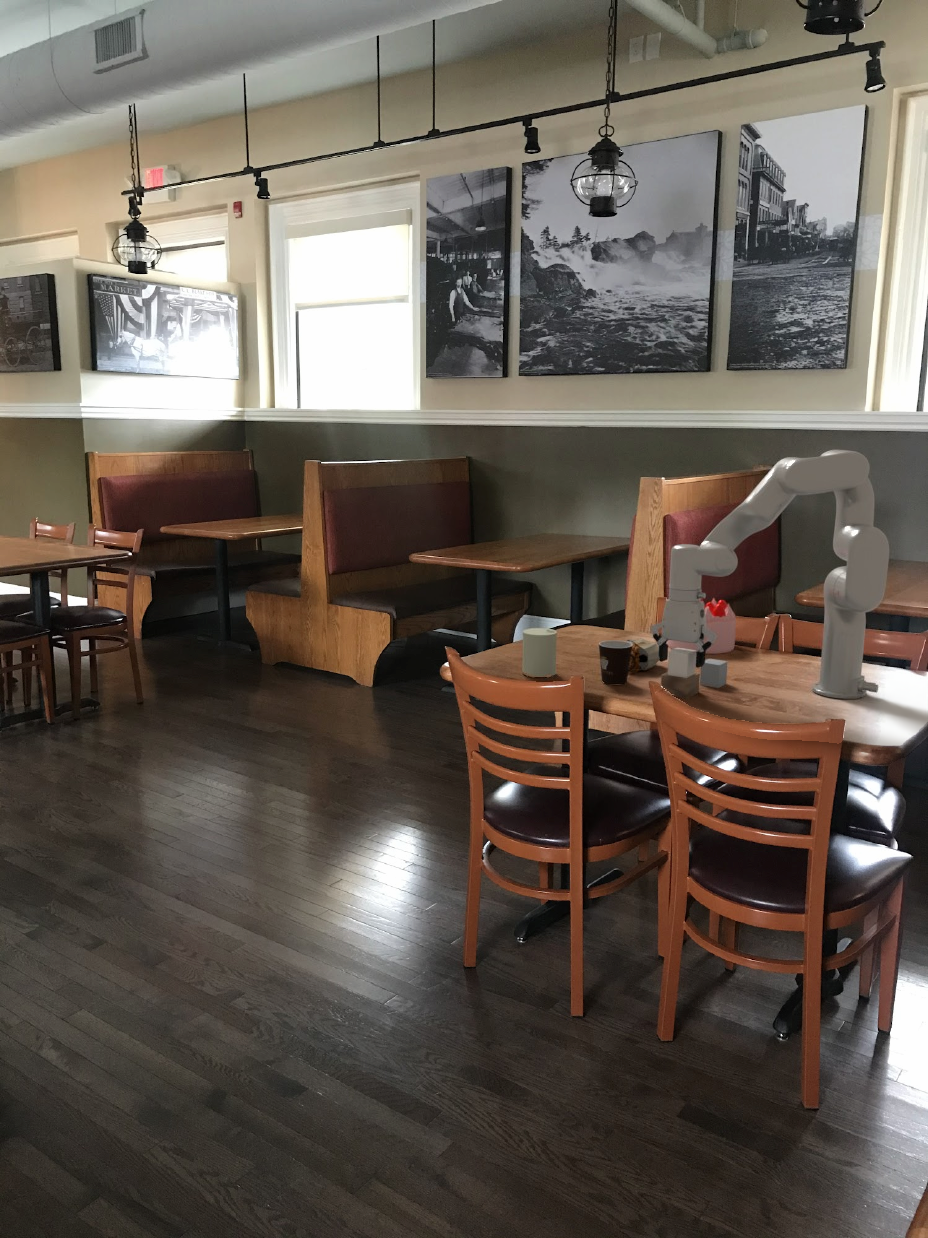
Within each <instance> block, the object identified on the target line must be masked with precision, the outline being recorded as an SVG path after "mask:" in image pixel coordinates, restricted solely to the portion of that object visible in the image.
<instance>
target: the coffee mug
mask: <svg viewBox="0 0 928 1238" xmlns="http://www.w3.org/2000/svg"><path fill="white" fill-rule="evenodd" d="M625 641H626V640H602V641H600V642H598V650H599V652H598V653H599V663H600V673H601V674H600V675H601V682H602V681H603V682H604V683H603V682H602V683H603V684H605V683H608V684H607V685H609V684H623V685H626V684H627V683H628V677H629V674H628V673H631V672H632V671H633V670H632V669H633V668H634V667H635V665H636V659H635V657H634V655H633V654H631V652H632V646H633V644H631V643H629V642H625ZM631 657H632V658H633V666H632V667H631V668H630V667H629V665H630V659H631ZM631 670H632V671H631ZM630 671H631V672H630ZM625 683H626V684H625Z"/></svg>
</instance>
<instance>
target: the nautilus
mask: <svg viewBox="0 0 928 1238" xmlns="http://www.w3.org/2000/svg"><path fill="white" fill-rule="evenodd" d="M624 641H625V642H629V643H631V644H633V646H632V652H631V654H633V655H634V657H635V659H636V665H635V667H634V668H633V669H632V670H631V671H630V672H628V675H630V674H633V673H634V674H633V675H635V673H637V672H638V671H646V670H648V669H651V668H652V667H654V666H656V664H657V663H658V662H660V661H659V660H660V657H659V645H657V642H655V641H651V640H650V641H649V640H647V639H644V638H630V639H626V640H624ZM632 666H633V658H632V657H631V659H630V665H629V669H630V668H631V667H632Z"/></svg>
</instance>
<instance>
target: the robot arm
mask: <svg viewBox="0 0 928 1238" xmlns="http://www.w3.org/2000/svg"><path fill="white" fill-rule="evenodd" d="M870 468H871V466H870V462H869V461H868V459H867V457H866V456H865V455H864V454H863V453H860V452H858V451H855V450H854V451H853V450H848V449H847V450H846V449H831V450H828V451H827V450H826V451H825V452H823V453H822V454H820V456H814V457H794V456H791V457H785V458H782V459H780V460H779V461H777V462H776V464H774V465H773V466H772V468H771V469H770V470H769V471H768V473H767V474H766V475H765V476H764V477H763V478H762V479H761V481H760V482H759V483H758V484H757V485H756V486H755V487H754V488H753V490H752V491H751V492H750V494H749V495H748V496H747V497H746V498H745V499H744V501H742V502H741V503H740V504H739V505H738V506H737V507H736V508H734V509H733V510H732V511H731V512H730V513H728V514H727V516H726V517H724V518H723V519H722V520H721V521H720V522H719V523H718V524H717V525H716V526H715V527H713V529H712V530H711V532H710V533H709V534H707V536H706V537H705V538H704V540H703V541H702V542H701V544H700V545H696V544H691V543H688V544H687V543H682V544H676V545H674V546H672V547H671V550H670V564H669V565H670V567H669V587H668V588H669V589H668V599H666V601H665V605H664V609H663V612H662V613H663V614H662V620H661V621H660V622H657V623H656V624H653V625H650V627H649V630H650V632H651V634H652V638H653V639H654V641H655V643H656V644H657V645H658V646H659V657H660V660H659V661H658V662H664V661H667V660H668V659H669V646H668V644H667V641H668V640H674V641H680V642H687V643H694V644H695V646H696V647H697V649H698V652H696V665H695V669H696V668H698V669H699V668H701V667H702V666H703V665H704V663H705V660H706V655H707V654H706V650H707V649H708V648H709V647H711V646H712V645H713V643H714V641H715V640H716V638H717V635H716V634H715V633H713V632H712V631H711V630H709V629H708V628H706V617H705V608H704V604H705V602H702V601H700V600H701V599H706V596H707V595H706V592H702V576H708V577H709V576H711V577H719V578H720V577H721V578H722V577H726V576H727V577H728V576H729V575H731V574H732V573H734V572H735V570H736V569H737V567H738V557H737V553H736V552H735V549H736V548H737V547H738V546H739V545H740V544H741V543H742V542H743V541H745V540H746V539H747V538H748V537H750V536H751V535H753V534H755V533H758V532H760V531H763V530H765V529H766V528H768V527H769V526H771V525H772V524H773V523H774V522H775V520H776V519H777V518H778V517H779V516H780V515H781V513H783V511H784V510H785V509H786V508H787V507H788V505H789V504H790V503H791V502H792V501H793V500H794V498H795V497H796V496H809V495H817V494H825V493H830V492H833V493H834V497H835V502H836V507H835V508H836V510H835V511H836V513H835V521H834V522H835V523H834V532H833V540H832V548H833V551H834V553H835V555H836V556H837V557H839V558H840V559H841V560H843V561H845V562H846V565H845V566H838V567H836V568H833V570H831V571H830V572H829V573H828V574H827V576H826V578H825V580H824V584H823V600H824V604H823V605H824V620H823V634H822V643H821V644H822V647H821V658H820V660H821V661H820V670H819V681H818V682H815V683H814V684H813V685H812V689H811V690H812V691H813V693H816V694H817V695H820V696H824V697H828V698H835V699H845V700H853V699H854V700H856V699H861V698H860V697H862V698H865V697H866V696H867V692H871V693H878V691H879V684H876V682H870V681H866V680H865V675H862V670H863V669H862V668H863V661H864V660H863V658H864V647H865V637H866V636H865V635H866V624H867V622H866V621H867V619H866V618H867V617H866V613H870V612H872V611H874V610H875V609H876V608H878V607H879V606H880V604H881V603H882V600H883V599H884V596H885V592H886V587H887V579H888V570H889V559H890V545H889V544H890V543H889V540H888V537H887V536H886V534H885V533H884V532H883V531H882V530H881V529H879V528H878V527H875V526H874V522H875V521H874V519H875V493H874V489H873V485H872V482H871V480H870V478H869V474H870ZM660 628H661V634H660V633H659V629H660ZM706 636H708V638H709V639H708V641H707V642H706V643H705V642H704V641H703V640H704V639H705V637H706Z"/></svg>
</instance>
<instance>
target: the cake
mask: <svg viewBox="0 0 928 1238" xmlns="http://www.w3.org/2000/svg"><path fill="white" fill-rule="evenodd" d="M703 599H704V598H702V599H701V600H700V601H702V602H704V600H703ZM704 608H705V617H706V628H708V629H709V630H711V631H712V632H713V633H715V634H716V635H717V638H716V640H715V641H714V643H713V645H712V646H711V647H709V648H708V649H707V650H706V654H705V655H717V654H718V655H719V654H724V653H725V654H727V653H730V652H732V651H733V650H734V648H735V643H736V629H737V628H736V626H737V625H736V624H737V619H736V614H735V612H734V611H733V610H732V608H731V606H730V603H727V602H726V600H724V599H719V600H718V601H717V600H716V599H715V598H714V597H713V598H712V600H711V601H709V602H707V603H706V604H705V602H704ZM708 639H709V638H708V636H706V637H705V639H704V640H703V641H704V642H705V643H706V642H707V641H708ZM666 644H668V648H670V649H671V650H673V649H675V648H684V649H690V650H696V652H698V649H697V647H696V646H695V644H694V643H687V642H680V641H674V640H668V641H667V642H666ZM731 650H732V651H731Z"/></svg>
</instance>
